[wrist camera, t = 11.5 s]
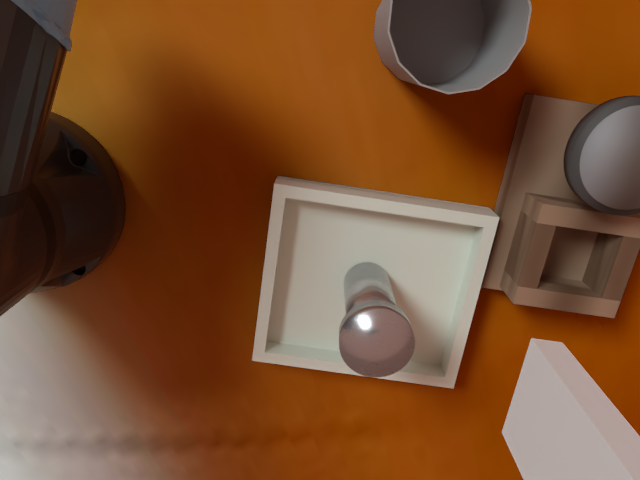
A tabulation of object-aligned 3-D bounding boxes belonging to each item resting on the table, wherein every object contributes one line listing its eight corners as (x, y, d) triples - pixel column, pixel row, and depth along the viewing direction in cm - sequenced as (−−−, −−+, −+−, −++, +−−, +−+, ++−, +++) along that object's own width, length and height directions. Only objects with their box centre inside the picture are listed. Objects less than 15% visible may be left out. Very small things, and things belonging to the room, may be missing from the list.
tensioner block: (476, 278, 47) (504, 320, 40) (528, 80, 42) (572, 84, 34) (597, 296, 48) (647, 341, 40) (664, 101, 42) (737, 111, 35)
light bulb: (332, 306, 47) (333, 372, 37) (341, 251, 46) (345, 305, 36) (390, 314, 48) (406, 382, 38) (401, 259, 46) (422, 315, 36)
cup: (496, 62, 42) (545, 63, 32) (395, 102, 43) (414, 114, 33) (464, -52, 39) (508, -86, 30) (358, -6, 40) (368, -26, 31)
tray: (256, 343, 50) (251, 360, 47) (277, 175, 45) (274, 183, 42) (446, 370, 50) (453, 388, 48) (488, 207, 45) (499, 217, 42)
